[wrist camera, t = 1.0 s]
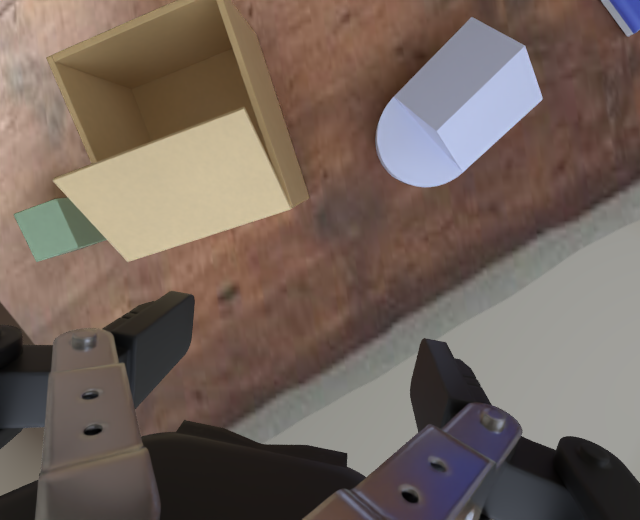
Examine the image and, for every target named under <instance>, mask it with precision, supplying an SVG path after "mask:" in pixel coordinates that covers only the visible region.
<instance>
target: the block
mask: <svg viewBox="0 0 640 520" xmlns="http://www.w3.org/2000/svg"><path fill="white" fill-rule="evenodd" d="M14 216H15V219H16V221H17V223H18V225H19V227H20V229H21V231H22V233H23V235H24V237H25V239H26V241H27V243H28V246H29V248H30V250H31V252H32V254H33V256H34V258H35V260H36V262H38V261H41V260H45V259H48V258H52V257H55V256H59V255H62V254H66V253H69V252H73V251H76V250H79V249H82V248H84V247H87V246H90V245H93V244H96V243H99V242H102V241H105V240H107V239H106V238H105V237H104V236H103V235H102V234H101V233H100V232H99V231H98V229H97V228H96V227H95V226H94V225H93V224H92V223H91V222H90V221H89V220H88V219H87V218H86V216H85V215H84V214H83V213H82V212H81V211H80V210H79V209H78V208H77V207H76V206H75V205H74V203H73V202H72V201H71V200H70V199H69V198H68V197H67V198H57V199H54V200H51V201H48V202H45V203H43V204H40V205H37V206H34V207H32V208H29V209H26V210H23V211H21V212H18V213H15V214H14Z"/></svg>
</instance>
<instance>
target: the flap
mask: <svg viewBox="0 0 640 520" xmlns="http://www.w3.org/2000/svg"><path fill="white" fill-rule="evenodd" d="M53 182H54V183H55V184H56V185H57V186H58V187H59V188H60V189H61V190H62V192H63V193H64V194H65V195H66V196H67V197H68V198H69V199H70V200H71V201H72V202H73V203H74V205H75V206H76V207H77V208H78V209H79V210H80V211H81V212H82V213H83V214H84V215H85V216H86V218H87V219H88V220H89V221H90V222H91V223H92V224H93V225H94V226H95V227H96V228H97V229H98V231H99V232H100V233H101V234H102V235H103V236H104V237H105V238H106V239H107V240H108V241H109V242H110V243H111V245H112V246H113V247H114V248H115V249H116V250H117V251H118V252H119V253H120V254H121V255H122V256H123V258H124V259H125V260H126V261H127V262H129V261H132V260H135V259H139V258H142V257H145V256H148V255H151V254H154V253H157V252H160V251H163V250H166V249H170V248H173V247H176V246H179V245H182V244H185V243H188V242H191V241H194V240H197V239H200V238H204V237H207V236H210V235H213V234H216V233H219V232H222V231H225V230H228V229H231V228H234V227H238V226H241V225H244V224H247V223H250V222H253V221H256V220H259V219H262V218H265V217H268V216H272V215H275V214H278V213H281V212H284V211H287V210H290V209H291V206H290V204H289V202H288V200H287V197H286V195H285V193H284V191H283V189H282V187H281V184H280V182H279V180H278V178H277V176H276V174H275V171H274V169H273V167H272V165H271V163H270V161H269V159H268V156H267V154H266V152H265V150H264V148H263V146H262V143H261V141H260V139H259V137H258V135H257V133H256V131H255V128H254V126H253V124H252V122H251V120H250V118H249V115H248V113H247V111H246V109H245V107H242V108H239V109H236V110H234V111H231V112H228V113H226V114H223V115H220V116H218V117H215V118H212V119H210V120H207V121H204V122H202V123H199V124H196V125H194V126H191V127H188V128H186V129H183V130H180V131H178V132H175V133H172V134H170V135H167V136H164V137H162V138H159V139H157V140H154V141H151V142H149V143H146V144H143V145H141V146H138V147H135V148H133V149H130V150H127V151H125V152H122V153H119V154H117V155H114V156H111V157H109V158H106V159H103V160H101V161H98V162H95V163H93V164H90V165H87V166H85V167H82V168H79V169H77V170H74V171H71V172H69V173H66V174H63V175H61V176H58V177H55V178H54V179H53Z"/></svg>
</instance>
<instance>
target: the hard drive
mask: <svg viewBox="0 0 640 520" xmlns="http://www.w3.org/2000/svg"><path fill="white" fill-rule="evenodd" d="M601 2H602V3H603V4H604V6H605V7H606V8H607V10H608V11H609V13H610V14H611V15H612V17H613V18H614V19H615V21H616V22H617V23H618V25H619V26H620V27H621V29H622V30H623V32H624V33H625V34H626V36H627V37H628V36H630V35H632V34H634V33H636V32H637V31H639V30H640V0H601Z"/></svg>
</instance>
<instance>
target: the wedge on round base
mask: <svg viewBox="0 0 640 520" xmlns="http://www.w3.org/2000/svg"><path fill="white" fill-rule="evenodd" d="M542 99H543V98H542V95H541V92H540V89H539V86H538V83H537V80H536V77H535V74H534V71H533V68H532V65H531V62H530V59H529V56H528V53H527V50H526V47H525V45H523V44H521V43H519V42H517V41H515V40H514V39H512V38H510V37H508V36H506V35H504V34H503V33H501V32H499V31H497V30H495V29H493V28H491V27H490V26H488V25H486V24H484V23H482V22H480V21H479V20H477V19H475V18H473V17H471V18H470V19H469V20H468V21H467V22H466V23H465V24H464V25H463V26H462V27H461V28H460V29H459V30H458V31H457V32H456V33H455V34H454V35H453V36H452V37H451V39H450V40H449V41H448V42H447V43H446V44H445V45H444V46H443V47H442V48H441V49H440V50H439V51H438V52H437V53H436V54H435V55H434V56H433V57H432V58H431V59H430V60H429V61H428V62H427V63H426V64H425V65H424V66H423V67H422V68H421V69H420V70H419V71H418V72H417V73H416V74H415V75H414V76H413V77H412V78H411V79H410V80H409V82H408V83H407V84H406V85H405V86H404V87H403V88H402V89H401V90H400V91H399V92H398V93H397V94H396V95H395V96H394V97H393V98H392V99H391V100H390V102H389V103H388V104H387V106H386V107H385V109H384V111H383V113H382V115H381V117H380V120H379V122H378V125H377V129H376V136H375V144H376V151H377V155H378V157H379V160H380V162H381V164H382V165H383V167H384V168H385V170H386V171H387V172H388V173H389V174H390V175H391V176H393V177H394V178H395V179H397V180H399V181H401V182H403V183H406V184H410V185H413V186H418V187H433V186H439V185H442V184H445V183H447V182H449V181H451V180H453V179H455V178H456V177H458V176H459V175H460V174H461V173H463V172H464V171H465V170H466V169H467V168H468V167H469V166H470V165H471V164H473V163H474V162H475V161H476V160H477V159H478V158H479V157H480V156H481V155H482V154H484V153H485V152H486V151H487V150H488V149H489V148H490V147H491V146H492V145H493V144H494V143H496V142H497V141H498V140H499V139H500V138H501V137H502V136H503V135H504V134H505V133H506V132H508V131H509V130H510V129H511V128H512V127H513V126H514V125H515V124H516V123H517V122H518V121H520V120H521V119H522V118H523V117H524V116H525V115H526V114H527V113H528V112H529V111H530V110H532V109H533V108H534V107H535V106H536V105H537V104H538V103H539V102H540V101H541V100H542Z"/></svg>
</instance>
